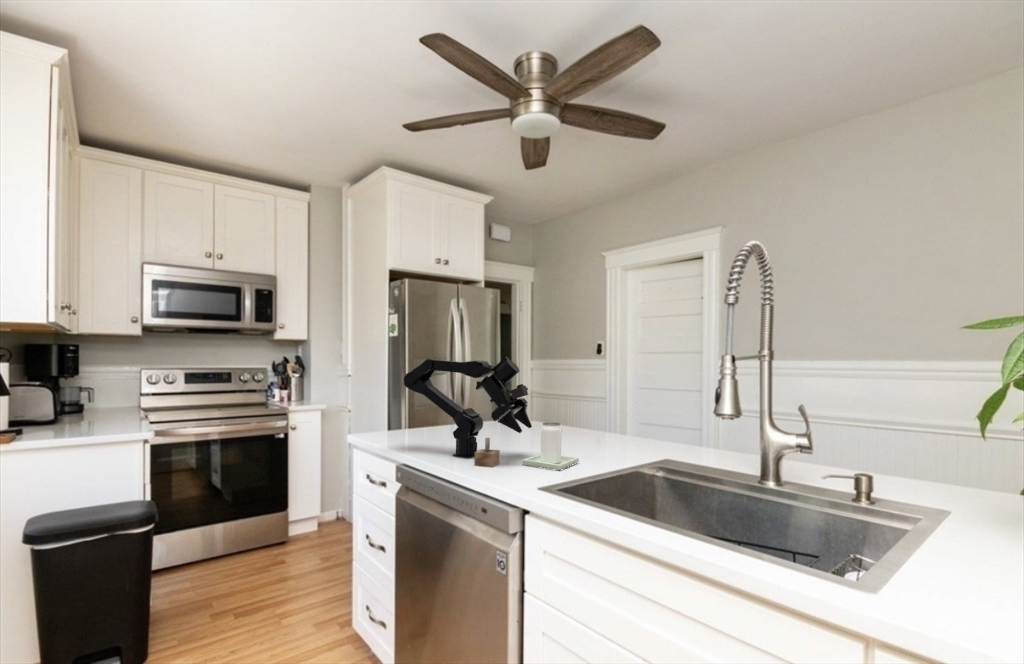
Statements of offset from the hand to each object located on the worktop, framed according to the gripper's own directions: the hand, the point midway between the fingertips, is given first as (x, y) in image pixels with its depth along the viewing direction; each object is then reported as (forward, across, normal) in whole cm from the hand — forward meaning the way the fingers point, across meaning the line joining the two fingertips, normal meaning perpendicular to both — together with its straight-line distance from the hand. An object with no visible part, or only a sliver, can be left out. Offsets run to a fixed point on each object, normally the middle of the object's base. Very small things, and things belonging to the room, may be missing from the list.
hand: (526, 429), depth 157 cm
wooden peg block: (+1, -9, +14) cm, 16 cm away
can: (+13, 0, 0) cm, 13 cm away
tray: (+13, 0, 0) cm, 13 cm away
